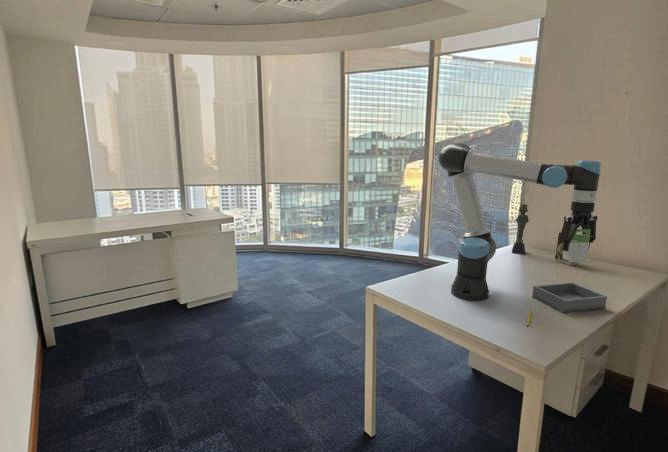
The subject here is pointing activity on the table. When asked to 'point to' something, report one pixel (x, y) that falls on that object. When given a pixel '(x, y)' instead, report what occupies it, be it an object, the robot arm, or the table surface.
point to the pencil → (529, 318)
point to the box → (569, 297)
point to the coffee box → (561, 253)
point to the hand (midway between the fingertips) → (574, 258)
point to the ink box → (579, 246)
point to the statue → (520, 230)
